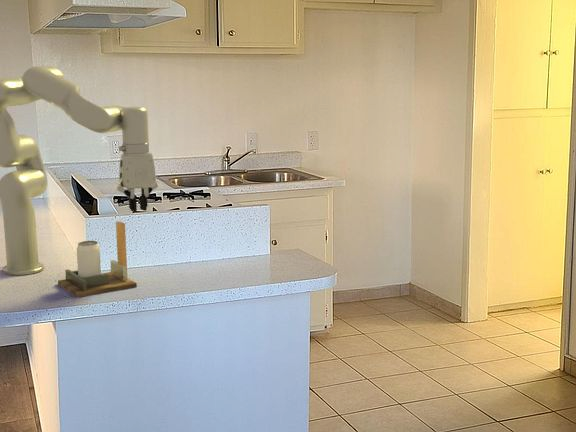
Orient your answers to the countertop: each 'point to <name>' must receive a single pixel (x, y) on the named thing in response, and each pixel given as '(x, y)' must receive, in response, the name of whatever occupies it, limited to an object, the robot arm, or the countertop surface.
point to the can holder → (86, 280)
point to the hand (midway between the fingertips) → (138, 210)
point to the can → (88, 259)
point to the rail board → (113, 286)
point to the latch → (120, 253)
